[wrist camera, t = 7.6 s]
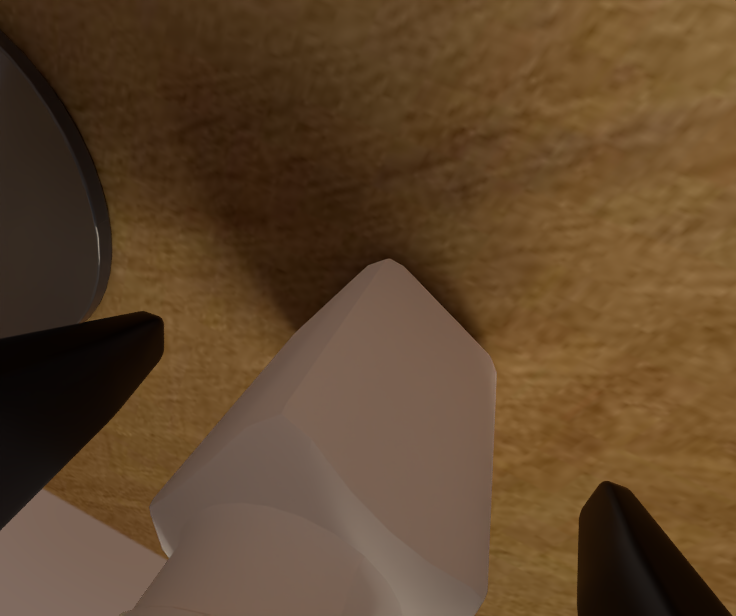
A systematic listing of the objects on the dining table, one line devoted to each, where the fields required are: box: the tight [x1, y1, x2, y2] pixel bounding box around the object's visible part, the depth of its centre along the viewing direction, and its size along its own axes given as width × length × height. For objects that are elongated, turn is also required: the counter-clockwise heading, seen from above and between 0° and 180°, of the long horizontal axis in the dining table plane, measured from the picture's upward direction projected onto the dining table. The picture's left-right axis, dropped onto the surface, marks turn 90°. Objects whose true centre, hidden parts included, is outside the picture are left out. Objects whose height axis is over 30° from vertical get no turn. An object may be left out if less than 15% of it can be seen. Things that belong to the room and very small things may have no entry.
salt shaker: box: [119, 259, 497, 616], centre depth 7 cm, size 4×4×10 cm
